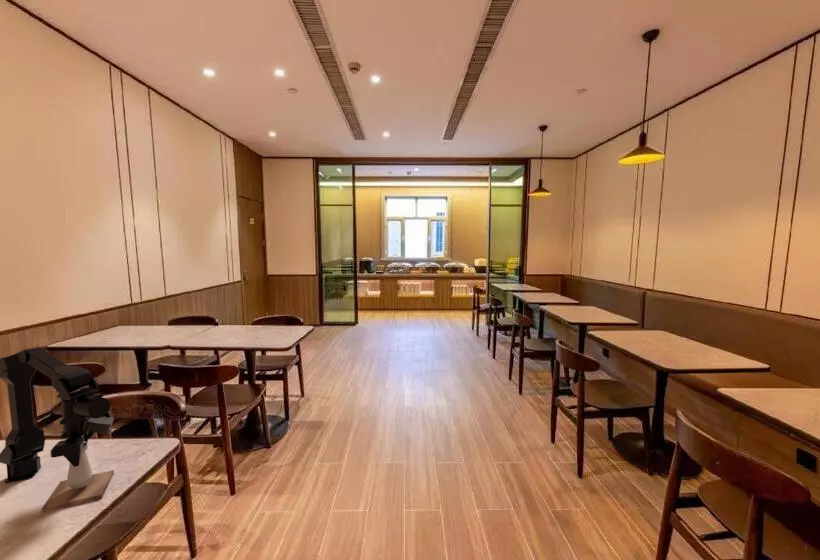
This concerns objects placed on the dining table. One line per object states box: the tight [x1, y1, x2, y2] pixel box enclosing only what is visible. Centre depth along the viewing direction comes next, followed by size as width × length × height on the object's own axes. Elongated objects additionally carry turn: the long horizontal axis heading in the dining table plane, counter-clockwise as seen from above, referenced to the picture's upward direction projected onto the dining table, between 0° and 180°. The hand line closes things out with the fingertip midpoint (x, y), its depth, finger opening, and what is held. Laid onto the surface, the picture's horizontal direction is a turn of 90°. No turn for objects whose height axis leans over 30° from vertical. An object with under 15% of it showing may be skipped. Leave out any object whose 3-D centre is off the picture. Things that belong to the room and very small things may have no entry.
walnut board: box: [41, 469, 115, 513], centre depth 109 cm, size 13×13×1 cm
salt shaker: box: [66, 441, 93, 489], centre depth 109 cm, size 6×6×13 cm
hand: (78, 462), depth 108 cm, fingers closed on salt shaker, 3 cm apart
